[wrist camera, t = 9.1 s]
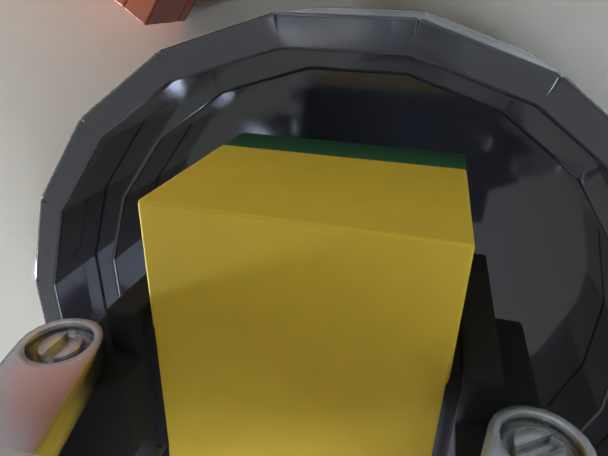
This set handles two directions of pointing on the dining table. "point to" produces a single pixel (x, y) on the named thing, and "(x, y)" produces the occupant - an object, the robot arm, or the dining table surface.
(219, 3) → the dining table surface
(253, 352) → the sponge
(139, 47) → the dining table surface
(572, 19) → the dining table surface
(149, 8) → the soap dish
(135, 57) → the dining table surface
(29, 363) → the robot arm
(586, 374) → the pan
